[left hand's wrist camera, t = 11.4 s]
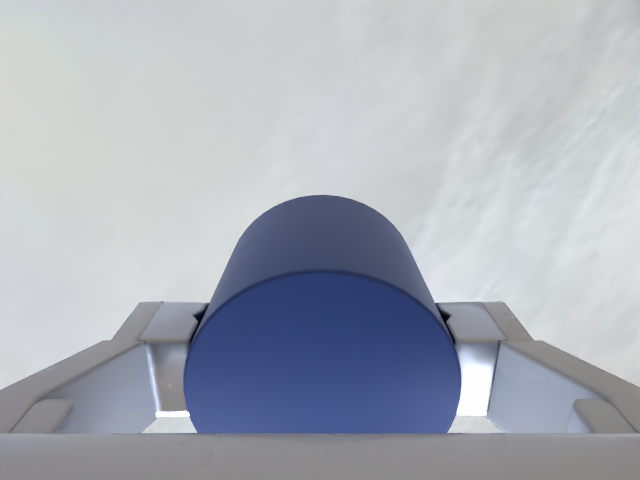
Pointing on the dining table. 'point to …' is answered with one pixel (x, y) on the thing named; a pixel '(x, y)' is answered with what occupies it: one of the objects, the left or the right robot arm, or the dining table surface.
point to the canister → (322, 331)
